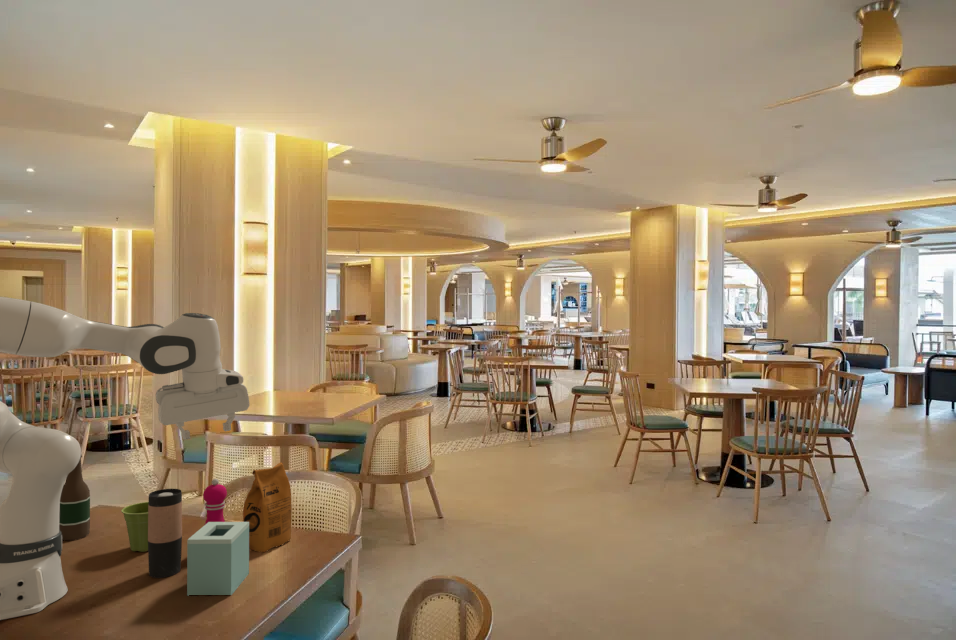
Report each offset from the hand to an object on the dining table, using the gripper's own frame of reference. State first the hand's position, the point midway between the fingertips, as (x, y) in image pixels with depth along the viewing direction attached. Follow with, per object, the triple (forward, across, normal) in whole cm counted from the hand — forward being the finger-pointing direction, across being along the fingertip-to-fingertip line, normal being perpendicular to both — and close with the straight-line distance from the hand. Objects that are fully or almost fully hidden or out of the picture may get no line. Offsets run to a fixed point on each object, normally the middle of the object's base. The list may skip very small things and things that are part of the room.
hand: (207, 434), depth 149 cm
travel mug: (+36, -11, +6) cm, 38 cm away
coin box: (+35, -2, -10) cm, 36 cm away
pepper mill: (+38, +2, +12) cm, 40 cm away
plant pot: (+39, -12, +27) cm, 49 cm away
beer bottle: (+40, -27, +48) cm, 68 cm away
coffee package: (+39, +16, +9) cm, 43 cm away
